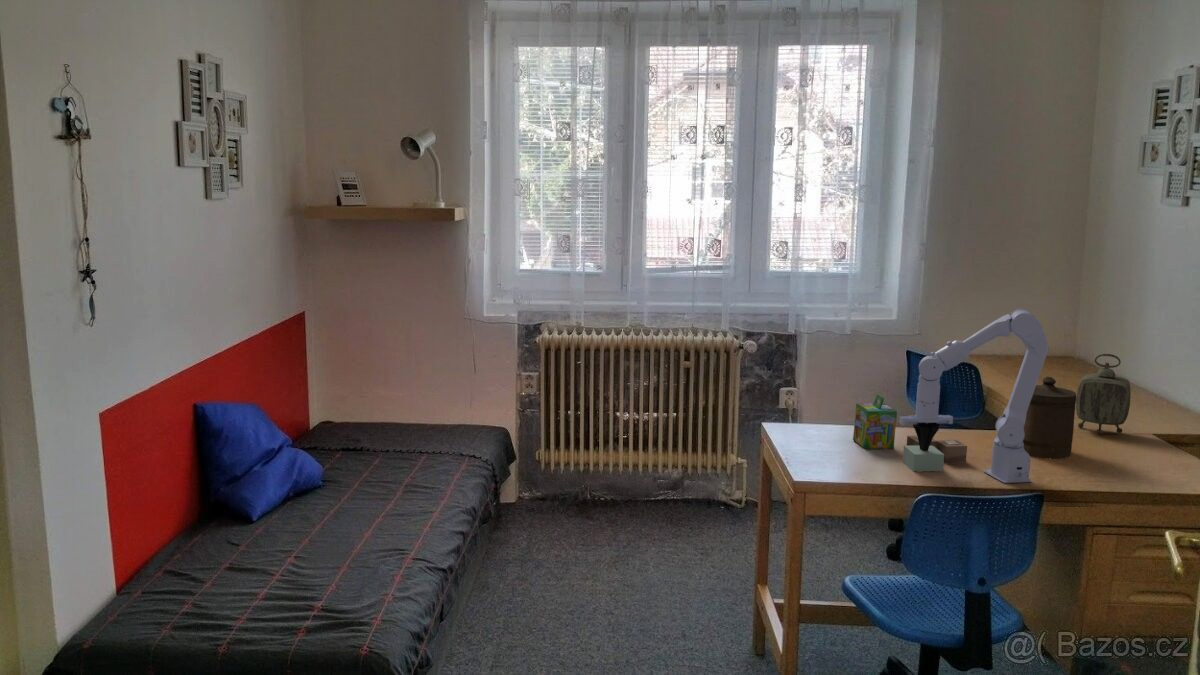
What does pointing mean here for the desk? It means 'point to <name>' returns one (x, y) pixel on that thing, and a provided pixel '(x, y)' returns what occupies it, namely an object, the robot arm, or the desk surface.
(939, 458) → the sage block
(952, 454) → the walnut block
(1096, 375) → the tabletop clock
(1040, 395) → the wooden container
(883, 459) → the desk surface
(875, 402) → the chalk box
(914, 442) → the walnut block
